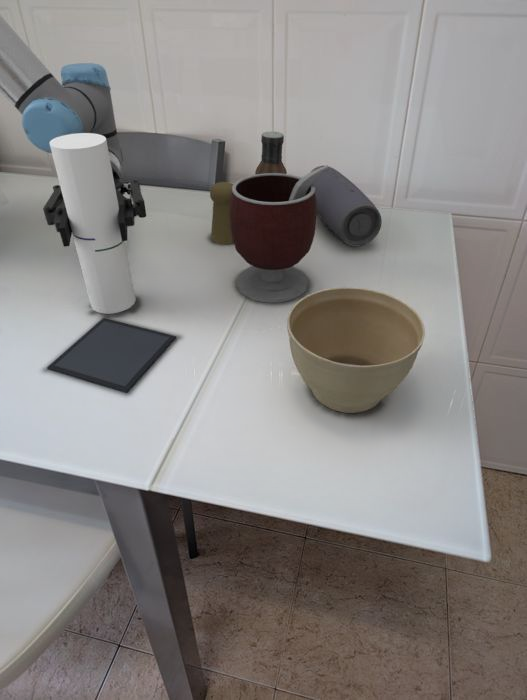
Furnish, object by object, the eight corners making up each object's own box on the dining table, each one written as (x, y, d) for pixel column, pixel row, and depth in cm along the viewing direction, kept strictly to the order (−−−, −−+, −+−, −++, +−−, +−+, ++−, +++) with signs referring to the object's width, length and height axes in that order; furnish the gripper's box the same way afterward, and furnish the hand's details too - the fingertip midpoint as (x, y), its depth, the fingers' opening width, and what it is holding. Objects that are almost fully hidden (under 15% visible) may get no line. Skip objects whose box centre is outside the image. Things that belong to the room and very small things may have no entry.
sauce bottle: (252, 242, 99) (251, 138, 87) (254, 229, 104) (253, 128, 92) (284, 243, 99) (288, 139, 87) (285, 229, 104) (288, 129, 92)
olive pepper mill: (219, 246, 98) (216, 192, 91) (205, 235, 102) (201, 182, 95) (245, 239, 100) (244, 186, 93) (231, 228, 104) (229, 176, 97)
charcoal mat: (47, 369, 69) (46, 367, 69) (103, 319, 78) (103, 317, 78) (126, 393, 65) (126, 391, 65) (176, 337, 74) (175, 335, 74)
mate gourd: (237, 308, 81) (232, 187, 68) (228, 267, 91) (223, 156, 79) (329, 300, 82) (341, 181, 70) (310, 261, 93) (318, 151, 81)
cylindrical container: (99, 288, 84) (62, 132, 68) (140, 290, 83) (113, 133, 68) (83, 312, 78) (39, 148, 62) (128, 314, 78) (94, 149, 62)
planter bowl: (307, 340, 74) (311, 276, 67) (417, 367, 69) (433, 301, 62) (266, 412, 62) (266, 344, 56) (394, 450, 57) (412, 381, 51)
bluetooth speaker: (380, 249, 97) (388, 200, 91) (335, 255, 95) (341, 204, 89) (338, 205, 114) (343, 161, 108) (300, 209, 112) (302, 164, 106)
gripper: (160, 194, 90) (170, 252, 72) (44, 203, 86) (24, 266, 69) (155, 151, 85) (164, 202, 67) (31, 159, 81) (7, 215, 64)
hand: (94, 234), depth 68 cm, fingers closed on cylindrical container, 7 cm apart
